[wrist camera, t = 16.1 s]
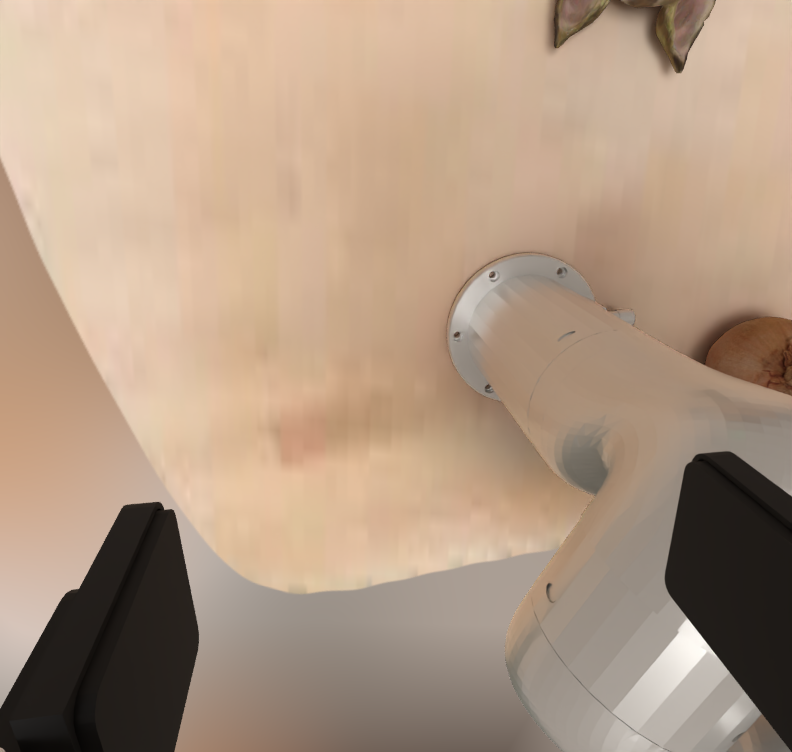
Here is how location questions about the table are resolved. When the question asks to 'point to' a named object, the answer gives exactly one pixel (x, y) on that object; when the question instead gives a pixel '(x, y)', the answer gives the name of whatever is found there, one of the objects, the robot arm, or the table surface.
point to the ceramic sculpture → (675, 25)
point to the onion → (756, 353)
